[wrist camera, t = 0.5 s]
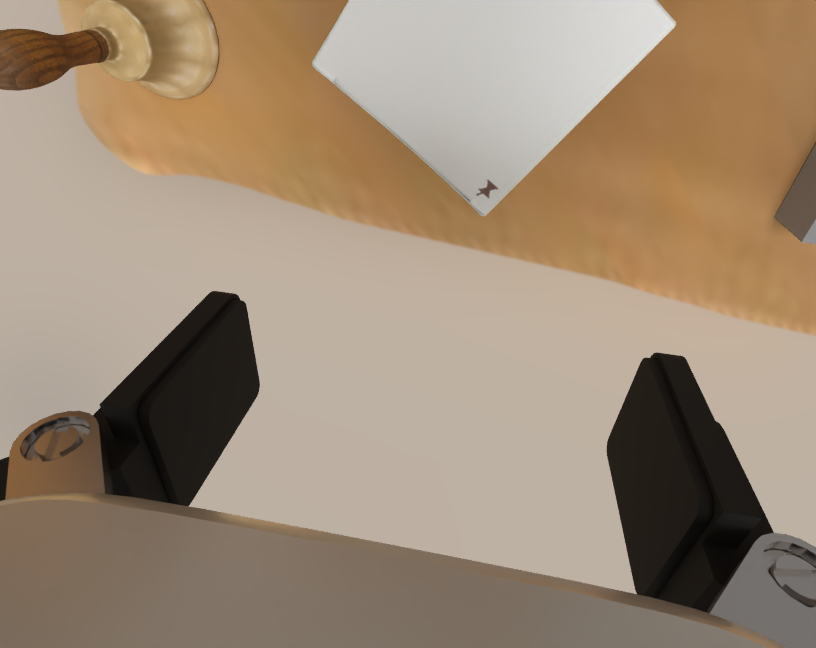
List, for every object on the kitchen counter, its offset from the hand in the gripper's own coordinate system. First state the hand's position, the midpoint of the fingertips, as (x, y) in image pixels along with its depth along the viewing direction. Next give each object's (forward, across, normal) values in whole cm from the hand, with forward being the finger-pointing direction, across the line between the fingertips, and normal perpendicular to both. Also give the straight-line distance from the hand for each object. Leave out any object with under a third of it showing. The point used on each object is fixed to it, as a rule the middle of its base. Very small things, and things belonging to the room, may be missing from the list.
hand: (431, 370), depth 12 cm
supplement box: (+28, 0, -6) cm, 28 cm away
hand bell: (+28, +23, -4) cm, 36 cm away
